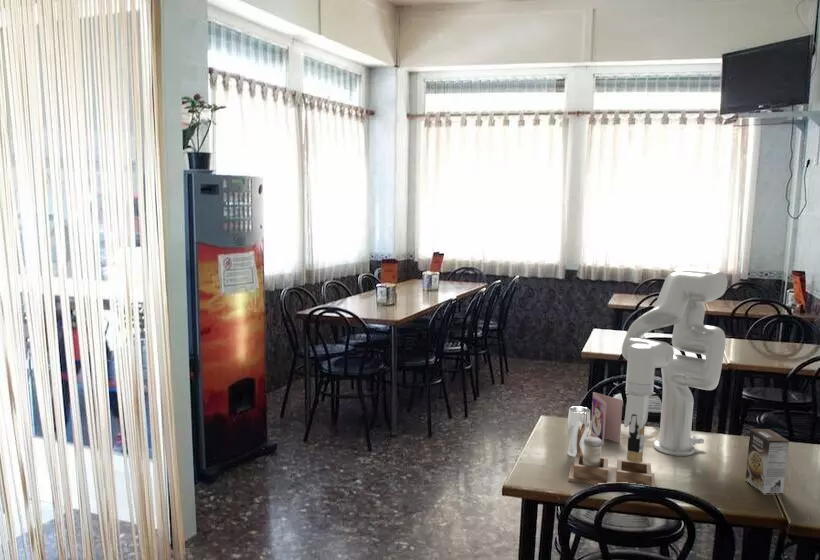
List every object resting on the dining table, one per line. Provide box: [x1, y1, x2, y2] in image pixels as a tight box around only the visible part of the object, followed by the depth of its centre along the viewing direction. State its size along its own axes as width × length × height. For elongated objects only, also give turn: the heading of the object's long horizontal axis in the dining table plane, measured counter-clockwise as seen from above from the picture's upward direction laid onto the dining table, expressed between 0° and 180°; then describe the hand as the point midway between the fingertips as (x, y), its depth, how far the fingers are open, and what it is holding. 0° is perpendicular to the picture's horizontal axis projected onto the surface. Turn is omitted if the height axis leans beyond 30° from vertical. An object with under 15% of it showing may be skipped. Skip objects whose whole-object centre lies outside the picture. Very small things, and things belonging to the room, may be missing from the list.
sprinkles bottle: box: [626, 420, 647, 463], centre depth 194 cm, size 5×5×13 cm
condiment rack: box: [567, 436, 656, 486], centre depth 197 cm, size 24×12×11 cm, turn 72°
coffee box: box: [745, 428, 790, 494], centre depth 193 cm, size 9×6×16 cm
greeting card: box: [590, 391, 624, 447], centre depth 227 cm, size 11×7×15 cm, turn 6°
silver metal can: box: [567, 405, 591, 459], centre depth 214 cm, size 7×7×15 cm
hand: (635, 447), depth 194 cm, fingers closed on sprinkles bottle, 4 cm apart
